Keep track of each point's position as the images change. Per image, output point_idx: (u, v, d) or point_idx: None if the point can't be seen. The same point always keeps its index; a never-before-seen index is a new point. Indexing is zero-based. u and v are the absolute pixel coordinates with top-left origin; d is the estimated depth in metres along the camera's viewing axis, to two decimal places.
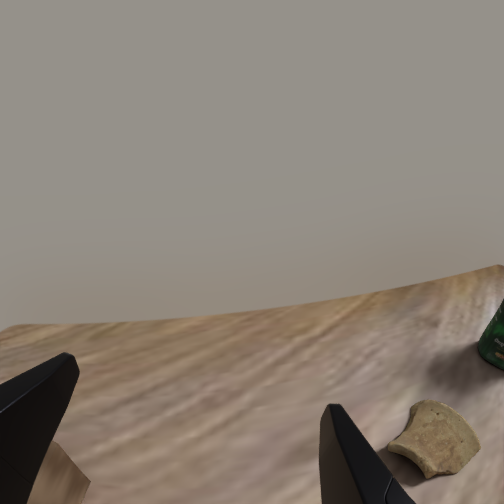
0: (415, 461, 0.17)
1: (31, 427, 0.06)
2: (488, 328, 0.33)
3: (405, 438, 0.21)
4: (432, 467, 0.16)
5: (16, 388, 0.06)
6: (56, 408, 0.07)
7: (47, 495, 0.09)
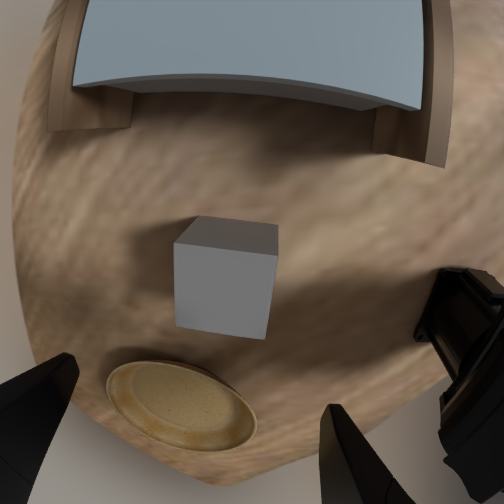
0: None
1: (31, 427, 0.06)
2: None
3: None
4: None
5: (16, 388, 0.06)
6: (56, 408, 0.07)
7: None
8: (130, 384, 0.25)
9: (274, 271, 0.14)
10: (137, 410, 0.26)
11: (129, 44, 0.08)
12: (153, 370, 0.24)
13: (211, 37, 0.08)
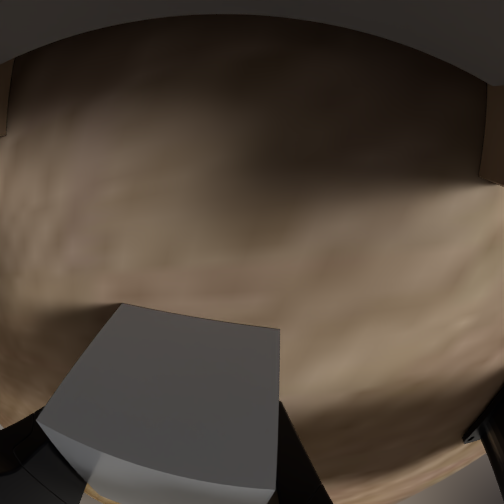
0: None
1: None
2: None
3: None
4: None
5: None
6: None
7: None
8: None
9: (265, 500, 0.04)
10: None
11: None
12: None
13: None
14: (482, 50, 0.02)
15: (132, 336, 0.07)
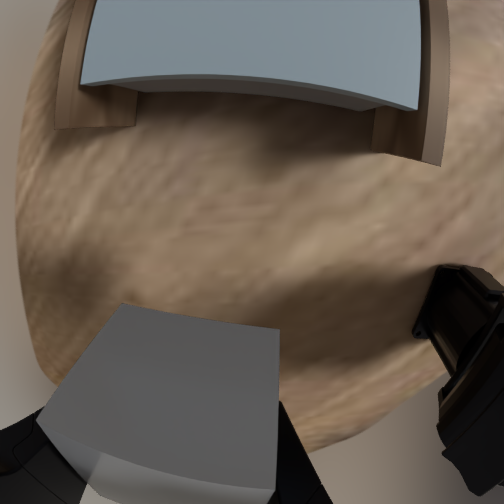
0: None
1: None
2: None
3: None
4: None
5: None
6: None
7: None
8: None
9: (265, 500, 0.04)
10: None
11: (136, 45, 0.09)
12: None
13: (216, 39, 0.09)
14: (342, 104, 0.12)
15: (132, 336, 0.07)
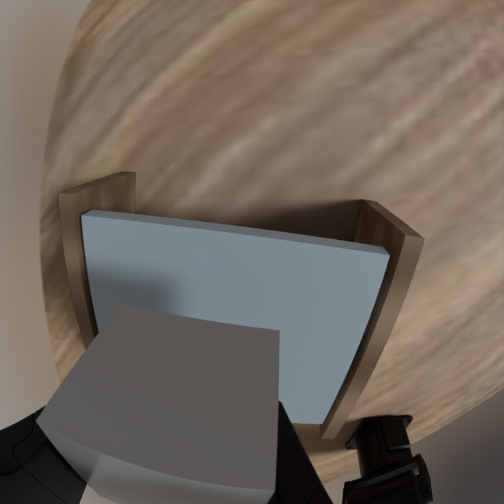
0: None
1: None
2: None
3: None
4: None
5: None
6: None
7: None
8: None
9: (264, 501, 0.04)
10: None
11: None
12: None
13: None
14: None
15: (132, 337, 0.07)
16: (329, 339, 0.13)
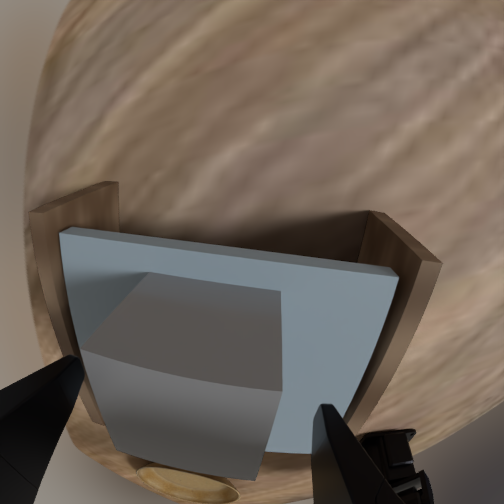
0: None
1: (36, 430, 0.06)
2: None
3: None
4: None
5: (21, 391, 0.06)
6: (62, 411, 0.07)
7: None
8: (152, 467, 0.31)
9: (273, 413, 0.06)
10: (157, 479, 0.32)
11: None
12: None
13: None
14: None
15: (161, 292, 0.09)
16: (331, 369, 0.12)
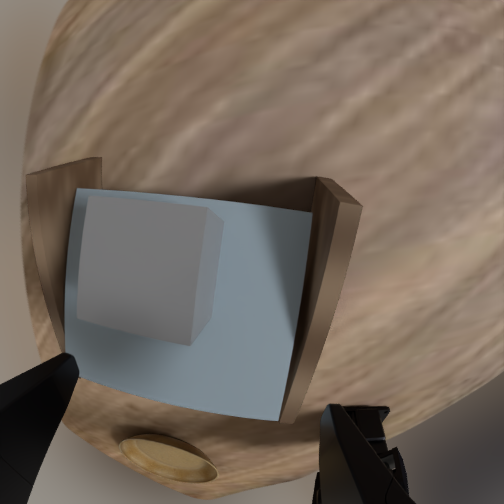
0: None
1: (31, 427, 0.06)
2: None
3: None
4: None
5: (16, 388, 0.06)
6: (56, 408, 0.07)
7: None
8: (135, 442, 0.33)
9: (202, 230, 0.10)
10: (140, 456, 0.34)
11: (98, 363, 0.15)
12: None
13: (146, 377, 0.15)
14: None
15: None
16: (269, 298, 0.15)
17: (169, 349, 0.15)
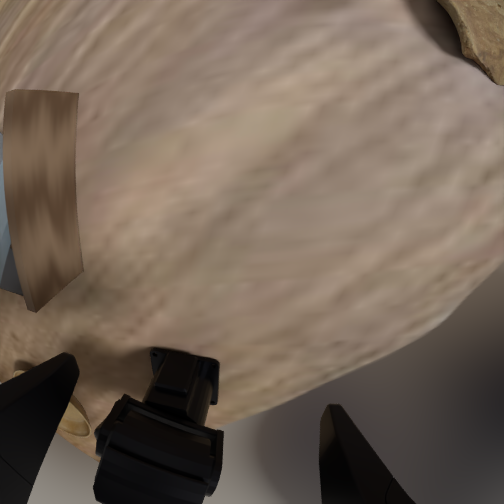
0: (455, 21, 0.11)
1: (31, 427, 0.06)
2: None
3: None
4: (473, 45, 0.11)
5: (16, 388, 0.06)
6: (56, 408, 0.07)
7: (29, 149, 0.13)
8: None
9: None
10: None
11: None
12: None
13: None
14: None
15: None
16: None
17: None
